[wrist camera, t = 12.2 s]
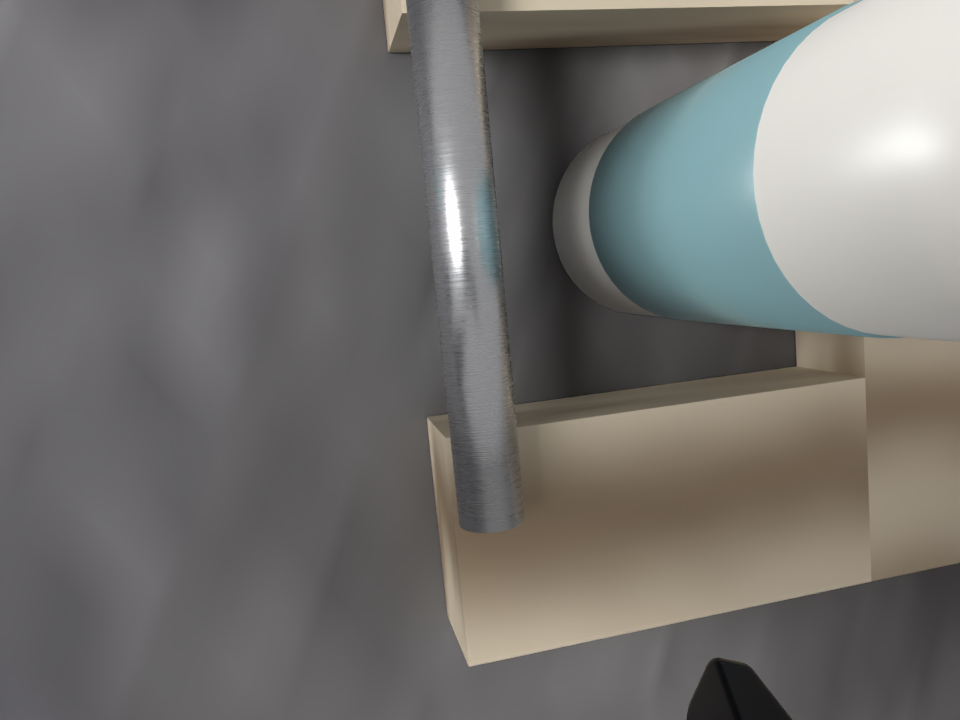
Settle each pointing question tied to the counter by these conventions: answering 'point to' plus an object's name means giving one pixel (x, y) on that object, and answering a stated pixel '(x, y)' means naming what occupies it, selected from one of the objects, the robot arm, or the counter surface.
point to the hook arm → (467, 261)
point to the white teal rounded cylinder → (788, 186)
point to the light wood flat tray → (701, 438)
